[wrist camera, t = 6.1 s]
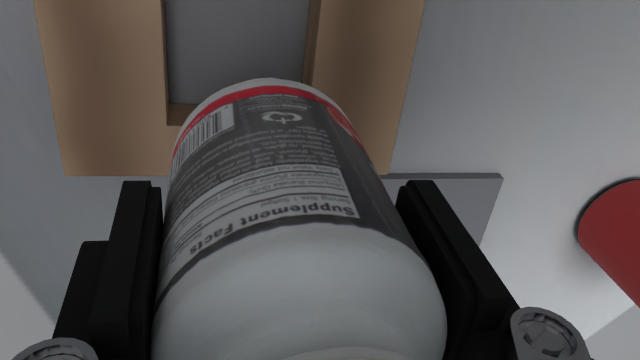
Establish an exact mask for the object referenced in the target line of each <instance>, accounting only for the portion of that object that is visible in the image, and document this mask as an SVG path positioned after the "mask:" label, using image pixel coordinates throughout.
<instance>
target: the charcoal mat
mask: <svg viewBox="0 0 640 360" xmlns="http://www.w3.org/2000/svg"><path fill="white" fill-rule="evenodd" d="M379 177H380V179H381V181H382V182H383V184H384V186H385V189H386V191H387V193H388V195H389V196H390V198H391V200H392V202H393V204H394V206H395V203H396V199H397V195H398V191H399V188H400V187H401V186H406V183H407V182H408V181H409V180H433V181H434V182H435V184H436V185H437V187H438V188H439V190H440V191H441V193H442V194H443V196H444V197H445V199H446V200H447V202H448V203H449V204H450V206H451V207H452V209H453V210H454V212H455V213H456V215H457V216H458V218H459V219H460V221H461V222H462V224H463V225H464V227H465V228H466V230H467V231H468V233H469V234H470V235H471V236H472V238H473V239H474V241H475V242H476V244H477V245H478V247H479V246H480V243H481V240H482V237H483V234H484V232H485V229H486V226H487V223H488V221H489V218H490V215H491V212H492V209H493V207H494V204H495V201H496V198H497V195H498V193H499V190H500V187H501V184H502V182H503V179H504V178H503V177H502V176H501V175H500V174H499V173H471V174H388V175H379Z"/></svg>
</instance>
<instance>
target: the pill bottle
mask: <svg viewBox="0 0 640 360" xmlns="http://www.w3.org/2000/svg"><path fill="white" fill-rule="evenodd" d="M446 338H447V317H446V311H445V306H444V303H443V300H442V297H441V294H440V291H439V289H438V287H437V284H436V282H435V279H434V277H433V274H432V272H431V269H430V267H429V265H428V263H427V261H426V260H425V258H424V257H423V255H422V254H421V252H420V251H419V249H418V248H417V246H416V244H415V242H414V241H413V239H412V237H411V235H410V234H409V232H408V230H407V228H406V226H405V224H404V222H403V221H402V219H401V217H400V215H399V213H398V211H397V209H396V208H395V206H394V204H393V202H392V200H391V198H390V196H389V195H388V193H387V191H386V189H385V186H384V184H383V182H382V181H381V179H380V177H379V175H378V173H377V171H376V169H375V167H374V165H373V163H372V161H371V159H370V158H369V156H368V154H367V152H366V150H365V148H364V146H363V144H362V142H361V140H360V138H359V136H358V135H357V133H356V131H355V129H354V128H353V126H352V124H351V122H350V121H349V119H348V118H347V116H346V115H345V114H344V112H343V111H342V110H341V108H340V107H339V106H338V105H337V104H336V103H335V102H334V101H332V100H331V99H330V98H329V97H327V96H326V95H325V94H323V93H322V92H320V91H318V90H317V89H315V88H313V87H310V86H308V85H306V84H303V83H300V82H295V81H290V80H281V79H277V78H257V79H251V80H247V81H243V82H240V83H237V84H234V85H231V86H228V87H226V88H223V89H221V90H219V91H217V92H216V93H214V94H212V95H211V96H209V97H208V98H207V99H205V100H204V101H203V102H202V103H201V104H200V105H199V106H198V107H197V108H196V109H195V110H194V111H193V112H192V113H191V114H190V115H189V116H188V118H187V119H186V121H185V123H184V124H183V126H182V127H181V129H180V131H179V134H178V136H177V139H176V142H175V144H174V149H173V153H172V159H171V165H170V171H169V180H168V190H167V198H166V205H165V215H164V223H163V233H162V242H161V253H160V259H159V267H158V277H157V285H156V295H155V303H154V310H153V319H152V326H151V331H150V360H442V358H443V354H444V351H445V346H446Z"/></svg>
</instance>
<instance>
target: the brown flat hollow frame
mask: <svg viewBox="0 0 640 360" xmlns="http://www.w3.org/2000/svg"><path fill="white" fill-rule="evenodd" d="M425 1H426V0H310V5H309V15H308V25H307V35H306V45H305V55H304V65H303V75H302V83H303V84H306V85H308V86H310V87H313V88H315V89H317V90H318V91H320V92H322V93H323V94H325V95H326V96H327V97H329V98H330V99H331V100H332V101H334V102H335V103H336V104H337V105H338V106H339V107H340V108H341V110H342V111H343V112H344V114H345V115H346V116H347V118H348V119H349V121H350V122H351V124H352V126H353V128H354V129H355V131H356V133H357V135H358V136H359V138H360V140H361V142H362V144H363V146H364V148H365V150H366V152H367V154H368V156H369V158H370V159H371V161H372V163H373V165H374V167H375V169H376V171H377V173H378V175H388V172H389V168H390V163H391V158H392V154H393V149H394V145H395V140H396V135H397V131H398V126H399V121H400V117H401V112H402V108H403V103H404V98H405V94H406V89H407V84H408V80H409V75H410V71H411V66H412V61H413V57H414V52H415V47H416V43H417V38H418V34H419V29H420V24H421V20H422V15H423V10H424V6H425ZM33 2H34V8H35V13H36V19H37V24H38V30H39V36H40V41H41V47H42V53H43V58H44V64H45V69H46V75H47V81H48V86H49V92H50V97H51V103H52V109H53V114H54V120H55V125H56V131H57V137H58V142H59V148H60V153H61V159H62V165H63V170H64V176H169V171H170V165H171V159H172V153H173V149H174V144H175V142H176V139H177V136H178V134H179V131H180V129H181V127H182V126H183V124H184V123H185V121H186V119H187V118H188V116H189V115H190V114H191V113H192V112H193V111H194V110H195V109H196V108H197V107H198V106H199V105H200V104H170V101H169V79H168V57H167V36H166V14H165V0H33Z"/></svg>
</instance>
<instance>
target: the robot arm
mask: <svg viewBox="0 0 640 360" xmlns="http://www.w3.org/2000/svg"><path fill="white" fill-rule="evenodd" d="M395 208H396V209H397V211H398V213H399V215H400V217H401V219H402V221H403V222H404V224H405V226H406V228H407V230H408V232H409V234H410V235H411V237H412V239H413V241H414V242H415V244H416V246H417V248H418V249H419V251H420V252H421V254H422V255H423V257H424V258H425V260H426V261H427V263H428V265H429V267H430V269H431V272H432V274H433V277H434V279H435V282H436V284H437V287H438V289H439V291H440V294H441V297H442V300H443V303H444V306H445V311H446V317H447V338H446V346H445V351H444V354H443V358H442V360H594V359H592V358H591V357H590V355H589V352H588V349H587V347H586V345H585V342H584V340H583V338H582V336H581V334H580V333H579V331H578V330H577V329H576V328H575V327H574V326H573V325H572V324H571V323H570V322H568V321H567V320H566V319H564V318H563V317H562V316H560V315H558V314H556V313H554V312H552V311H549V310H546V309H542V308H539V307H525V308H520V307H519V306H518V304H517V303H516V301H515V300H514V298H513V297H512V295H511V294H510V292H509V291H508V289H507V288H506V287H505V285H504V284H503V282H502V281H501V279H500V278H499V276H498V275H497V273H496V272H495V270H494V269H493V267H492V266H491V264H490V263H489V261H488V260H487V258H486V257H485V256H484V254H483V253H482V251H481V250H480V248H479V247H478V245H477V244H476V242H475V241H474V239H473V238H472V236H471V235H470V234H469V233H468V231H467V230H466V228H465V227H464V225H463V224H462V222H461V221H460V219H459V218H458V216H457V215H456V213H455V212H454V210H453V209H452V207H451V206H450V204H449V203H448V202H447V200H446V199H445V197H444V196H443V194H442V193H441V191H440V190H439V188H438V187H437V185H436V184H435V182H434V181H433V180H409V181H408V182H407V183H406V186H401V187H400V188H399V191H398V195H397V199H396V203H395ZM162 233H163V213H162V197H161V188H160V187H152V186H151V181H124V182H123V184H122V189H121V193H120V197H119V201H118V205H117V209H116V213H115V217H114V221H113V225H112V229H111V233H110V237H109V241H84V242H83V243H82V245H81V248H80V250H79V254H78V257H77V260H76V263H75V266H74V270H73V273H72V276H71V279H70V282H69V286H68V289H67V292H66V295H65V298H64V301H63V305H62V308H61V311H60V314H59V317H58V321H57V324H56V327H55V330H54V334H53V337H52V339H49V340H44V341H42V342H39V343H37V344H34V345H32V346H29V347H28V348H26V349H25V350H24V351H22V352H20V353H19V354H17V355H16V356H15V357H14V358H13V359H12V360H150V331H151V326H152V319H153V310H154V303H155V295H156V285H157V277H158V267H159V259H160V253H161V242H162Z"/></svg>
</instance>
